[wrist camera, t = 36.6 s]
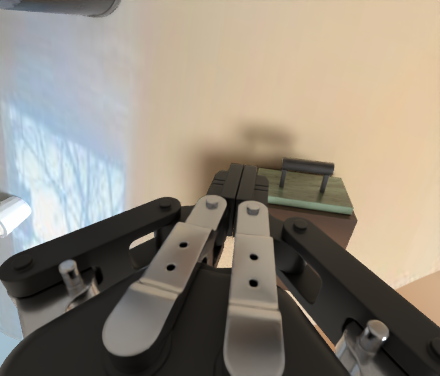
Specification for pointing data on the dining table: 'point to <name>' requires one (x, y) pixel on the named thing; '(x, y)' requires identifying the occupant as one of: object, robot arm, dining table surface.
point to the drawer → (307, 187)
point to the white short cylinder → (12, 214)
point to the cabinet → (318, 225)
